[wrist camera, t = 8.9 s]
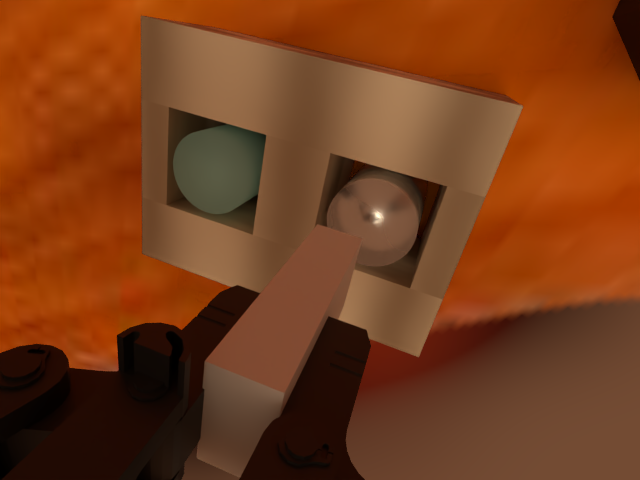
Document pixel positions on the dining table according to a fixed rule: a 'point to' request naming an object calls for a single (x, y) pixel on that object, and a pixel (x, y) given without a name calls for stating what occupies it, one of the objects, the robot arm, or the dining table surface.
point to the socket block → (313, 162)
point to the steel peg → (379, 213)
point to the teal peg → (219, 167)
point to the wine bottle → (629, 29)
